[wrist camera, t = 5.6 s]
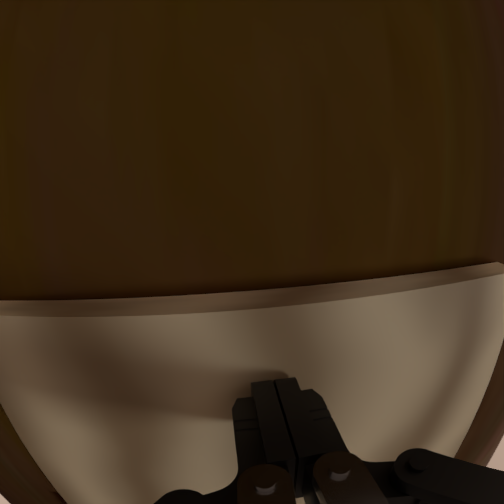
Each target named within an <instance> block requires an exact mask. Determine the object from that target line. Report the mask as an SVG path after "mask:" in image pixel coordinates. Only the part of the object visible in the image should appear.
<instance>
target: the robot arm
mask: <svg viewBox="0 0 504 504" xmlns="http://www.w3.org/2000/svg"><path fill="white" fill-rule="evenodd" d="M232 417H233V427H234V436H235V445H236V454H237V463H238V472H237V475H236V477H235V479H234V480H233V481H232V482H231V483H230V484H229V485H228V486H226V487H225V488H223V489H220V490H218V491H215V492H212V493H208V494H205V495H202V494H201V493H199V492H197V491H194V490H189V489H178V490H173V491H170V492H168V493H166V494H165V495H163V496H162V497H161V498H160V499H158V500H157V501H156V502H155V503H154V504H296V499H295V498H301V497H304V501H305V504H504V471H500V470H496V469H492V468H488V467H484V466H480V465H476V464H473V463H469V462H466V461H462V460H459V459H455V458H452V457H449V456H445V455H442V454H439V453H436V452H433V451H430V450H427V449H423V448H413V449H408V450H406V451H404V452H402V453H401V454H400V455H399V456H398V457H397V458H396V460H395V461H387V462H368V461H363V460H361V459H360V458H359V457H358V456H356V455H355V454H352V453H350V452H349V450H348V449H347V447H346V445H345V443H344V441H343V439H342V437H341V435H340V433H339V430H338V428H337V426H336V424H335V422H334V420H333V418H332V417H331V414H330V412H329V410H328V409H327V406H326V404H325V401H324V399H323V397H322V396H321V395H319V394H318V393H317V392H316V391H314V390H313V389H307V390H301V389H300V387H299V384H298V382H297V379H296V378H295V377H291V378H283V379H275V380H274V381H272V380H268V381H259V382H251V397H245V398H237V399H236V401H235V403H234V405H233V407H232Z"/></svg>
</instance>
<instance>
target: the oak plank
mask: <svg viewBox="0 0 504 504" xmlns="http://www.w3.org/2000/svg"><path fill="white" fill-rule="evenodd" d="M503 338H504V264H501V263H499V262H494V263H488V264H481V265H475V266H468V267H462V268H455V269H448V270H440V271H433V272H426V273H418V274H410V275H402V276H394V277H386V278H378V279H369V280H360V281H351V282H341V283H332V284H322V285H312V286H301V287H290V288H279V289H267V290H255V291H242V292H228V293H214V294H198V295H182V296H164V297H143V298H120V299H90V300H38V301H0V403H1V405H2V407H3V409H4V410H5V412H6V414H7V416H8V418H9V420H10V421H11V423H12V425H13V427H14V428H15V430H16V432H17V434H18V435H19V437H20V438H21V440H22V442H23V443H24V445H25V446H26V448H27V450H28V451H29V453H30V454H31V456H32V457H33V459H34V460H35V462H36V463H37V464H38V466H39V467H40V469H41V470H42V472H43V473H44V474H45V476H46V477H47V478H48V480H49V481H50V482H51V484H52V485H53V486H54V488H55V489H56V490H57V491H58V493H59V494H60V495H61V496H62V497H63V499H64V500H65V501H66V502H67V503H68V504H154V503H155V502H156V501H157V500H158V499H160V498H161V497H162V496H163V495H165V494H166V493H168V492H170V491H173V490H178V489H189V490H194V491H197V492H199V493H201V494H202V495H205V494H208V493H212V492H215V491H218V490H220V489H223V488H225V487H226V486H228V485H229V484H230V483H231V482H232V481H233V480H234V479H235V477H236V475H237V472H238V463H237V454H236V445H235V436H234V427H233V417H232V407H233V405H234V403H235V401H236V399H237V398H245V397H251V382H259V381H268V380H272V381H274V380H275V379H283V378H291V377H295V378H296V379H297V382H298V384H299V387H300V389H301V390H307V389H313V390H314V391H316V392H317V393H318V394H319V395H321V396H322V397H323V399H324V401H325V404H326V406H327V409H328V410H329V412H330V414H331V417H332V418H333V420H334V422H335V424H336V426H337V428H338V430H339V433H340V435H341V437H342V439H343V441H344V443H345V445H346V447H347V449H348V450H349V452H350V453H352V454H355V455H356V456H358V457H359V458H360V459H361V460H363V461H368V462H387V461H395V460H396V458H397V457H398V456H399V455H400V454H401V453H402V452H404V451H406V450H408V449H413V448H423V449H427V450H430V451H433V452H436V453H439V454H442V455H445V456H449V457H452V458H454V456H455V454H456V452H457V451H458V449H459V447H460V445H461V443H462V441H463V439H464V437H465V435H466V433H467V431H468V429H469V427H470V425H471V423H472V421H473V419H474V417H475V414H476V412H477V410H478V408H479V405H480V403H481V401H482V398H483V396H484V393H485V391H486V388H487V386H488V383H489V381H490V378H491V375H492V372H493V370H494V367H495V364H496V361H497V358H498V355H499V352H500V348H501V345H502V342H503ZM295 499H296V504H305V501H304V497H301V498H295Z"/></svg>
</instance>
